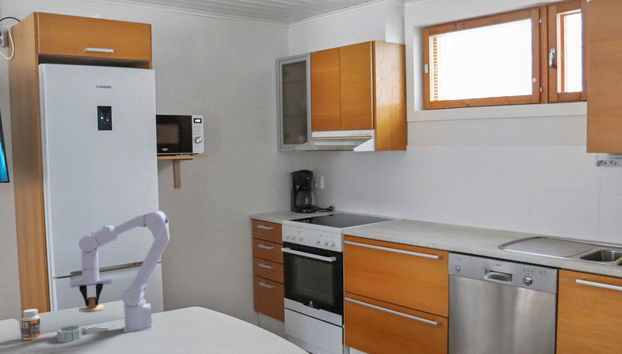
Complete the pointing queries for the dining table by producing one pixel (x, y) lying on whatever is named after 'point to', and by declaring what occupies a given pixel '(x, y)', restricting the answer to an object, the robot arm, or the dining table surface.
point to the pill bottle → (30, 324)
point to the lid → (92, 306)
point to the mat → (93, 330)
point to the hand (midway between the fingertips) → (92, 305)
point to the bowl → (69, 333)
